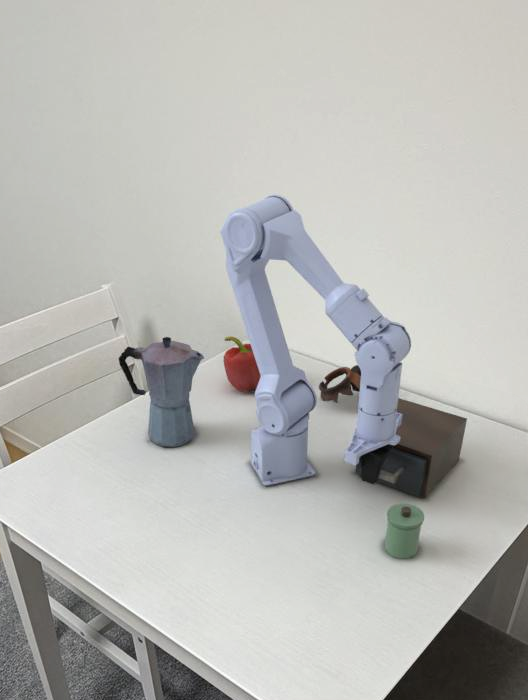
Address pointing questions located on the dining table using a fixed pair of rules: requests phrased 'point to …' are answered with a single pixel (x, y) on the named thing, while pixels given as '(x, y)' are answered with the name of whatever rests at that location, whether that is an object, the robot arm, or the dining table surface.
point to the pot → (403, 530)
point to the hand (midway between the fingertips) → (369, 480)
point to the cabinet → (431, 439)
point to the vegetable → (241, 366)
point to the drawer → (402, 471)
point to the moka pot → (166, 388)
